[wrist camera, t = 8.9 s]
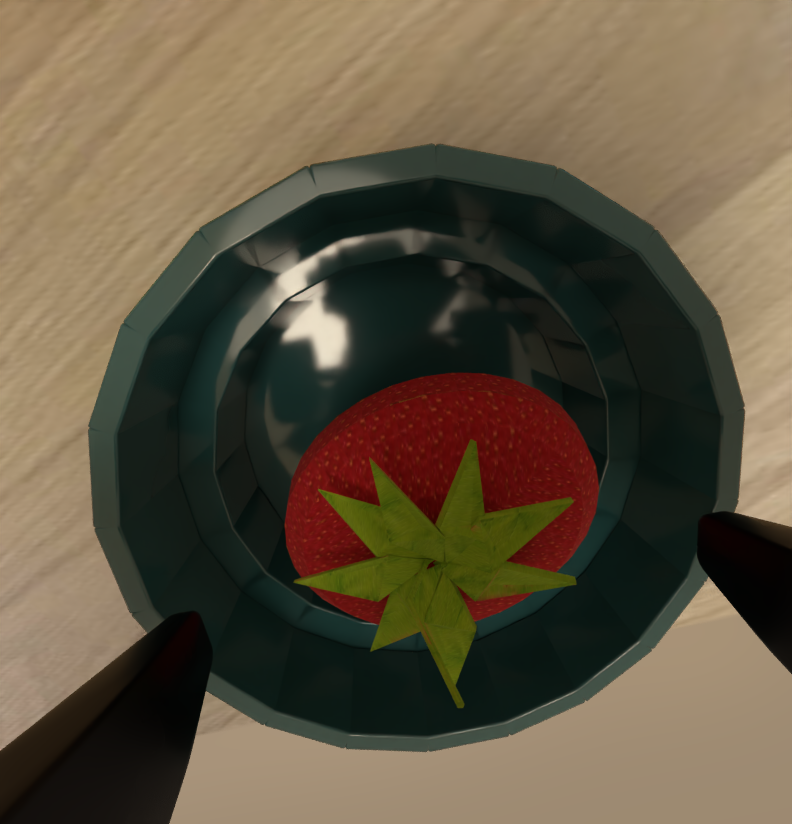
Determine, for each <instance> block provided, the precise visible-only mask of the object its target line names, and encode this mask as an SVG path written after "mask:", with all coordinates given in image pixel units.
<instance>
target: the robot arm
mask: <svg viewBox="0 0 792 824" xmlns="http://www.w3.org/2000/svg"><path fill="white" fill-rule="evenodd" d="M697 558H698V561H699V564H700V565H701V567H702V569H703V570H704V571H705V573H706V574H707V575H708V576H709V578H710V579H711V580H712V581H713V582H714V584H715V585H716V586H717V587H718V589H719V590H720V591H721V592H722V593H723V595H724V596H725V597H726V598H727V599H728V601H729V602H730V603H731V604H732V606H733V607H734V608H735V609H736V610H737V612H738V613H739V614H740V615H741V617H742V618H743V619H744V620H745V621H746V622H747V624H748V625H749V626H750V628H751V629H752V630H753V631H754V632H755V634H756V635H757V636H758V637H759V638H760V639H761V641H762V642H763V643H764V644H765V645H766V647H767V648H768V649H769V650H770V651H771V652H772V653H773V654H774V656H775V657H776V658H777V659H778V660H779V661H780V662H781V663H782V664H783V665H784V666H785V667H786V668H787V669H788V671H789V672H790V673H791V674H792V527H789V526H785V525H781V524H777V523H773V522H769V521H765V520H761V519H757V518H753V517H749V516H745V515H741V514H737V513H733V512H729V511H720V512H714V513H709V514H704V515H703V516H701V517H700V519H699V521H698V533H697ZM212 661H213V648H212V644H211V642H210V639H209V636H208V634H207V631H206V628H205V625H204V623H203V620H202V617H201V615H200V614H199V613H198V612H197V611H194V610H192V611H186V612H181V613H176V614H173V615H171V616H169V617H168V618H166V619H165V620H164V621H163V622H161V623H160V624H159V625H158V626H156V627H155V628H154V629H153V630H151V631H150V632H149V633H148V634H146V635H145V636H144V637H143V638H141V639H140V640H139V641H138V642H136V643H135V644H134V645H133V646H131V647H130V648H129V649H128V650H126V651H125V652H124V653H123V654H121V655H120V656H119V657H118V658H116V659H115V660H114V661H113V662H111V663H110V664H109V665H108V666H106V667H105V668H104V669H103V670H101V671H100V672H99V673H98V674H96V675H95V676H94V677H92V678H91V679H90V680H89V681H87V682H86V683H85V684H84V685H82V686H81V687H80V688H79V689H77V690H76V691H75V692H74V693H72V694H71V695H70V696H69V697H67V698H66V699H65V700H64V701H62V702H61V703H60V704H59V705H57V706H56V707H55V708H54V709H52V710H51V711H50V712H49V713H47V714H46V715H45V716H44V717H42V718H41V719H40V720H39V721H37V722H36V723H35V724H34V725H32V726H31V727H30V728H29V729H27V730H26V731H25V732H24V733H22V734H21V735H20V736H19V737H17V738H16V739H15V740H13V741H12V742H11V743H10V744H8V745H7V746H6V747H5V748H3V749H2V750H1V751H0V824H169V823H170V819H171V816H172V813H173V810H174V807H175V804H176V801H177V798H178V795H179V792H180V788H181V785H182V783H183V779H184V776H185V773H186V769H187V766H188V763H189V759H190V755H191V751H192V747H193V743H194V739H195V735H196V731H197V726H198V722H199V718H200V713H201V709H202V705H203V700H204V696H205V692H206V687H207V683H208V679H209V674H210V670H211V666H212Z"/></svg>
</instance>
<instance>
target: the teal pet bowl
mask: <svg viewBox="0 0 792 824" xmlns="http://www.w3.org/2000/svg"><path fill="white" fill-rule="evenodd" d="M446 373H485V374H490V375H494V376H499V377H504V378H509V379H514V380H516V381H519V382H521V383H523V384H526V385H528V386H530V387H533V388H535V389H538V390H540V391H541V392H542V393H544V394H545V395H547V396H548V397H549V398H551V399H552V400H554V401H555V402H557V403H558V404H559V405H561V407H562V408H563V409H564V410H565V411H566V413H567V414H568V415H569V416H570V417H571V419H572V420H573V421H574V422H575V423H576V425H577V427H578V429H579V431H580V433H581V435H582V437H583V439H584V441H585V443H586V445H587V447H588V449H589V451H590V453H591V456H592V458H593V460H594V462H595V465H596V470H597V477H598V485H599V493H598V500H597V507H596V513H595V515H594V518H593V520H592V523H591V525H590V528H589V530H588V532H587V535H586V536H585V538H584V539H583V541H582V542H581V544H580V545H579V547H578V548H577V550H576V551H575V553H574V554H573V556H572V557H571V558H570V559H569V560H568V561H567V562H566V563H565V564H564V565H563V566H562V567H561V568H560V569H559V570H558V571H557V572H556V573H560V574H565V575H569V576H574V577H575V579H576V583H577V585H571V586H565V587H559V588H553V589H547V590H542V591H536V592H533V593H532V594H530V595H529V596H528V597H526V598H525V599H524V600H522V601H520V602H518V603H517V604H515V605H513V606H511V607H509V608H507V609H505V610H503V611H502V612H500V613H497V614H494V615H491V616H489V617H486V618H483V619H481V620H478V621H475V624H476V626H477V628H476V633H475V635H474V638H473V641H472V643H471V646H470V648H469V651H468V654H467V656H466V659H465V662H464V664H463V667H462V669H461V672H460V675H459V677H458V680H457V682H456V685H455V686H456V688H457V690H458V692H459V694H460V696H461V698H462V700H463V702H464V707H463V708H457V706H456V704H455V701H454V699H453V697H452V695H451V693H450V691H449V689H448V687H447V685H446V683H445V681H444V679H443V677H442V675H441V673H440V670H439V668H438V666H437V664H436V662H435V660H434V658H433V656H432V654H431V652H430V650H429V648H428V646H427V644H426V642H425V640H424V637H423V635H422V633H421V631H420V632H418V633H416V634H413V635H411V636H408V637H406V638H403V639H401V640H398V641H396V642H393V643H391V644H388V645H386V646H384V647H381V648H379V649H376V650H374V651H371V652H370V650H371V647H372V644H373V641H374V639H375V636H376V633H377V630H378V627H379V625H377V624H374V623H371V622H369V621H366V620H363V619H360V618H357V617H355V616H353V615H350V614H348V613H346V612H344V611H342V610H341V609H339V608H337V607H335V606H334V605H332V604H330V603H328V602H327V601H325V600H323V599H322V598H321V597H320V596H319V595H318V594H316V593H315V592H314V591H313V590H312V589H311V588H310V587H309V586H306V585H302V584H297V583H293V582H294V580H295V579H299V578H301V576H300V575H299V573H298V572H297V570H296V569H295V568H294V566H293V563H292V560H291V557H290V555H289V552H288V549H287V546H286V535H285V518H286V511H287V504H288V498H289V492H290V487H291V481H292V478H293V476H294V473H295V471H296V469H297V466H298V464H299V462H300V460H301V457H302V456H303V454H304V453H305V452H306V450H307V449H308V447H309V446H310V445H311V443H312V442H313V440H314V439H315V438H316V436H317V435H318V434H319V433H320V432H321V431H322V430H323V429H324V428H325V427H327V426H328V425H329V424H330V423H331V422H332V421H333V420H334V419H335V418H336V417H337V416H338V415H340V414H341V413H343V412H344V411H346V410H347V409H349V408H350V407H351V406H353V405H354V404H356V403H357V402H359V401H360V400H362V399H364V398H366V397H368V396H370V395H372V394H374V393H377V392H379V391H381V390H383V389H385V388H387V387H389V386H392V385H395V384H399V383H402V382H406V381H409V380H412V379H416V378H419V377H424V376H431V375H439V374H446ZM744 406H745V404H744V401H743V397H742V394H741V390H740V386H739V383H738V379H737V375H736V372H735V368H734V364H733V361H732V357H731V354H730V350H729V346H728V343H727V339H726V335H725V332H724V328H723V325H722V321H721V317H720V316H719V315H718V311H717V309H716V308H715V307H714V305H713V304H712V303H711V301H710V300H709V299H708V297H707V296H706V295H705V293H704V292H703V290H702V289H701V288H700V286H699V285H698V284H697V282H696V281H695V280H694V278H693V277H692V276H691V274H690V273H689V272H688V270H687V269H686V267H685V266H684V265H683V263H682V262H681V261H680V259H679V258H678V257H677V255H676V254H675V253H674V251H673V250H672V248H671V247H670V246H669V244H668V243H667V242H666V240H665V239H664V238H663V236H662V235H661V234H660V232H659V231H658V230H656V229H655V227H654V226H652V225H651V224H649V223H647V222H646V221H644V220H643V219H641V218H639V217H638V216H636V215H635V214H633V213H631V212H630V211H628V210H627V209H625V208H624V207H622V206H620V205H619V204H617V203H616V202H614V201H612V200H611V199H609V198H608V197H606V196H604V195H603V194H601V193H600V192H598V191H596V190H595V189H593V188H592V187H590V186H588V185H587V184H585V183H584V182H582V181H580V180H579V179H577V178H576V177H574V176H573V175H571V174H569V173H568V172H566V171H565V170H563V169H561V168H558V169H557V167H556V166H553V165H548V164H543V163H538V162H532V161H527V160H522V159H517V158H512V157H507V156H501V155H496V154H491V153H486V152H481V151H475V150H470V149H465V148H460V147H455V146H450V145H444V144H436V146H435V144H426V145H420V146H414V147H408V148H403V149H397V150H391V151H385V152H379V153H373V154H368V155H362V156H356V157H350V158H344V159H339V160H333V161H327V162H321V163H315V164H312V165H310V167H308V166H305V167H303V168H301V169H300V170H298V171H296V172H294V173H293V174H291V175H289V176H287V177H286V178H284V179H282V180H281V181H279V182H277V183H275V184H274V185H272V186H270V187H269V188H267V189H265V190H263V191H262V192H260V193H258V194H257V195H255V196H253V197H251V198H250V199H248V200H246V201H245V202H243V203H241V204H239V205H238V206H236V207H234V208H233V209H231V210H229V211H227V212H226V213H224V214H222V215H221V216H219V217H217V218H215V219H214V220H212V221H210V222H208V223H207V224H205V225H203V226H202V227H200V228H199V231H196V232H195V233H194V235H193V236H192V237H191V238H190V239H189V241H188V242H187V243H186V244H185V246H184V247H183V248H182V249H181V251H180V252H179V253H178V254H177V255H176V257H175V258H174V259H173V260H172V262H171V263H170V264H169V265H168V267H167V268H166V269H165V270H164V271H163V273H162V274H161V275H160V276H159V278H158V279H157V280H156V281H155V283H154V284H153V285H152V286H151V287H150V289H149V290H148V291H147V292H146V294H145V295H144V296H143V297H142V299H141V300H140V301H139V302H138V303H137V305H136V306H135V307H134V308H133V310H132V311H131V312H130V313H129V315H128V316H127V317H126V318H125V320H124V323H122V324H121V326H120V329H119V332H118V336H117V339H116V342H115V345H114V348H113V351H112V354H111V357H110V360H109V363H108V366H107V370H106V373H105V376H104V379H103V382H102V385H101V388H100V391H99V394H98V397H97V400H96V403H95V407H94V410H93V413H92V416H91V419H90V422H89V425H88V426H89V427H90V428H89V430H88V437H89V456H90V474H91V492H92V511H93V526H94V527H95V533H96V535H97V538H98V540H99V542H100V545H101V547H102V549H103V552H104V554H105V556H106V559H107V561H108V563H109V566H110V568H111V570H112V573H113V575H114V577H115V580H116V582H117V584H118V586H119V589H120V591H121V593H122V596H123V598H124V600H125V603H126V605H127V607H128V610H129V612H130V613H132V617H133V618H134V619H135V620H136V621H137V622H138V623H139V624H140V625H141V627H142V628H143V629H144V630H145V631H146V632H147V633H149V632H150V631H151V630H153V629H154V628H155V627H156V626H158V625H159V624H160V623H161V622H163V621H164V620H165V619H166V618H168V617H169V616H171V615H173V614H176V613H181V612H186V611H192V610H194V611H197V612H198V613H199V614H200V615H201V617H202V620H203V623H204V625H205V628H206V631H207V634H208V636H209V639H210V642H211V644H212V648H213V661H212V666H211V670H210V674H209V679H208V683H207V687H206V691H207V692H209V693H210V694H212V695H214V696H215V697H217V698H219V699H220V700H222V701H224V702H225V703H227V704H229V705H230V706H232V707H233V708H235V709H237V710H238V711H240V712H242V713H243V714H245V715H247V716H248V717H250V718H252V719H253V720H255V721H257V722H258V723H260V724H261V725H264V724H265V725H266V726H268V727H271V728H274V729H278V730H281V731H285V732H288V733H292V734H295V735H299V736H302V737H305V738H309V739H312V740H316V741H319V742H323V743H326V744H330V745H333V746H336V747H340V748H345V747H346V748H347V749H360V750H387V751H412V752H427V751H428V750H429V751H436V750H442V749H446V748H451V747H456V746H461V745H466V744H472V743H477V742H482V741H487V740H492V739H497V738H502V737H508V736H509V734H510V735H513V734H516V733H518V732H520V731H522V730H524V729H527V728H529V727H531V726H533V725H536V724H538V723H540V722H542V721H544V720H547V719H549V718H551V717H553V716H555V715H558V714H560V713H562V712H564V711H566V710H569V709H571V708H573V707H575V706H577V705H580V704H582V703H584V702H585V700H586V701H587V700H589V699H590V698H592V697H593V696H594V695H595V694H597V693H598V692H599V691H601V690H602V689H603V688H604V687H606V686H607V685H608V684H610V683H611V682H612V681H614V680H615V679H616V678H617V677H619V676H620V675H621V674H623V673H624V672H625V671H626V670H628V669H629V668H630V667H632V666H633V665H634V664H636V663H637V662H638V661H639V660H641V659H642V658H643V657H645V656H646V655H647V654H648V653H650V652H651V651H652V649H653V648H655V647H656V645H657V644H658V643H659V641H660V640H661V639H662V638H663V636H664V635H665V634H666V632H667V631H668V630H669V629H670V627H671V626H672V625H673V623H674V622H675V621H676V620H677V618H678V617H679V616H680V614H681V613H682V612H683V610H684V609H685V608H686V607H687V605H688V604H689V603H690V601H691V600H692V599H693V598H694V596H695V595H696V594H697V592H698V591H699V590H700V589H701V587H702V586H703V585H704V582H705V581H707V579H708V575H707V574H706V573H705V571H704V570H703V569H702V567H701V565H700V564H699V561H698V558H697V533H698V521H699V519H700V517H701V516H703V515H704V514H709V513H714V512H720V511H729V512H733V513H734V512H735V509H736V507H737V504H738V502H739V501H738V500H737V499H738V498H739V488H740V475H741V461H742V448H743V434H744V420H745V409H744Z"/></svg>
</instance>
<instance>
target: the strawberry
mask: <svg viewBox="0 0 792 824" xmlns="http://www.w3.org/2000/svg"><path fill="white" fill-rule="evenodd" d="M598 493H599V485H598V477H597V470H596V465H595V462H594V460H593V458H592V456H591V453H590V451H589V449H588V447H587V445H586V443H585V441H584V439H583V437H582V435H581V433H580V431H579V429H578V427H577V425H576V423H575V422H574V421H573V420H572V419H571V417H570V416H569V415H568V414H567V413H566V411H565V410H564V409H563V408H562V407H561V405H559V404H558V403H557V402H555V401H554V400H552V399H551V398H549V397H548V396H547V395H545V394H544V393H542V392H541V391H540V390H538V389H535V388H533V387H530V386H528V385H526V384H523V383H521V382H519V381H516V380H514V379H509V378H504V377H499V376H494V375H490V374H485V373H446V374H439V375H431V376H424V377H419V378H416V379H412V380H409V381H406V382H402V383H399V384H395V385H392V386H389V387H387V388H385V389H383V390H381V391H379V392H377V393H374V394H372V395H370V396H368V397H366V398H364V399H362V400H360V401H359V402H357V403H356V404H354V405H353V406H351V407H350V408H349V409H347V410H346V411H344V412H343V413H341V414H340V415H338V416H337V417H336V418H335V419H334V420H333V421H332V422H331V423H330V424H329V425H328V426H327V427H325V428H324V429H323V430H322V431H321V432H320V433H319V434H318V435H317V436H316V438H315V439H314V440H313V442H312V443H311V445H310V446H309V447H308V449H307V450H306V452H305V453H304V454H303V456H302V457H301V460H300V462H299V464H298V466H297V469H296V471H295V473H294V476H293V478H292V481H291V487H290V492H289V498H288V504H287V511H286V518H285V535H286V546H287V549H288V552H289V555H290V557H291V560H292V563H293V566H294V568H295V569H296V570H297V572H298V573H299V575H300V576H301V578H299V579H295V580H294V582H293V583H297V584H302V585H306V586H309V587H310V588H311V589H312V590H313V591H314V592H315V593H316V594H318V595H319V596H320V597H321V598H322V599H323V600H325V601H327V602H328V603H330V604H332V605H334V606H335V607H337V608H339V609H341V610H342V611H344V612H346V613H348V614H350V615H353V616H355V617H357V618H360V619H363V620H366V621H369V622H371V623H374V624H377V625H379V627H378V630H377V633H376V636H375V639H374V641H373V644H372V647H371V650H370V652H371V651H374V650H376V649H379V648H381V647H384V646H386V645H388V644H391V643H393V642H396V641H398V640H401V639H403V638H406V637H408V636H411V635H413V634H416V633H418V632H420V631H421V633H422V635H423V637H424V640H425V642H426V644H427V646H428V648H429V650H430V652H431V654H432V656H433V658H434V660H435V662H436V664H437V666H438V668H439V670H440V673H441V675H442V677H443V679H444V681H445V683H446V685H447V687H448V689H449V691H450V693H451V695H452V697H453V699H454V701H455V704H456V706H457V708H463V707H464V702H463V700H462V698H461V696H460V694H459V692H458V690H457V688H456V686H455V685H456V682H457V680H458V677H459V675H460V672H461V669H462V667H463V664H464V662H465V659H466V656H467V654H468V651H469V648H470V646H471V643H472V641H473V638H474V635H475V633H476V628H477V626H476V624H475V621H478V620H481V619H483V618H486V617H489V616H491V615H494V614H497V613H500V612H502V611H503V610H505V609H507V608H509V607H511V606H513V605H515V604H517V603H518V602H520V601H522V600H524V599H525V598H526V597H528V596H529V595H530V594H532V593H533V592H536V591H542V590H547V589H553V588H559V587H565V586H571V585H577V583H576V579H575V577H574V576H569V575H565V574H560V573H556V572H557V571H558V570H559V569H560V568H561V567H562V566H563V565H564V564H565V563H566V562H567V561H568V560H569V559H570V558H571V557H572V556H573V554H574V553H575V551H576V550H577V548H578V547H579V545H580V544H581V542H582V541H583V539H584V538H585V536H586V535H587V532H588V530H589V528H590V525H591V523H592V520H593V518H594V515H595V513H596V507H597V500H598Z"/></svg>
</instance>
